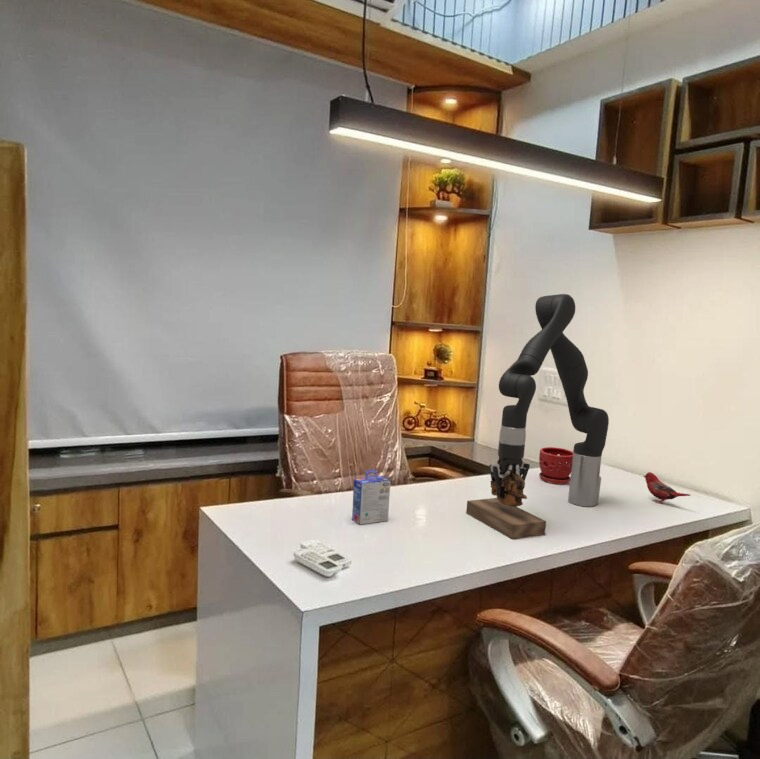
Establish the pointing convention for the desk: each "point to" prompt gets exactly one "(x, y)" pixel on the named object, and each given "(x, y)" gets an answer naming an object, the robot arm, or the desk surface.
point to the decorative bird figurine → (660, 489)
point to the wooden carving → (511, 491)
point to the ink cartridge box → (371, 499)
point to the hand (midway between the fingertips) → (506, 497)
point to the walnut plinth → (506, 518)
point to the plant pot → (555, 465)
